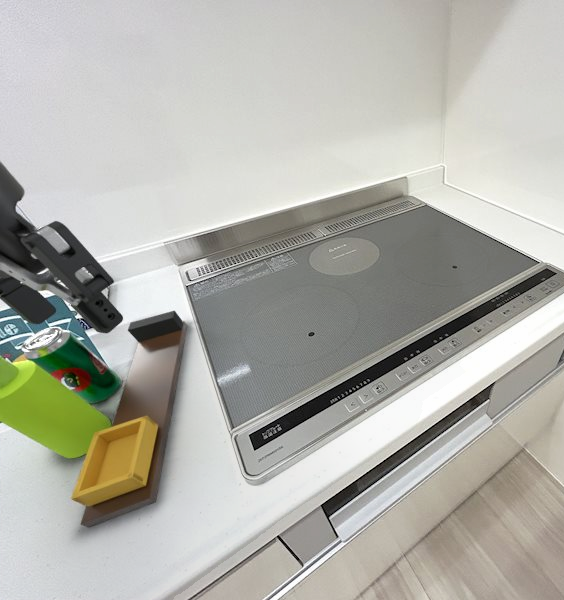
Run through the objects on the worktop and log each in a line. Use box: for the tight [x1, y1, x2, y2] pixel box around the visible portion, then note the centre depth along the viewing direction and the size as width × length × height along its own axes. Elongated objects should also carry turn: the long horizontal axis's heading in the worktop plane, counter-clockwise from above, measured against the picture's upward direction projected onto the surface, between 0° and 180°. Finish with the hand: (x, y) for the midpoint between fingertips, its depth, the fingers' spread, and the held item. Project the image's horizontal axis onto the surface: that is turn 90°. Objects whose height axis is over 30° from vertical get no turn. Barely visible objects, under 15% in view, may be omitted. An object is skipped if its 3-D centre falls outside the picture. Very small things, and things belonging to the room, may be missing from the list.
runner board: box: [80, 320, 188, 528], centre depth 48 cm, size 31×7×1 cm, turn 20°
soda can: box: [20, 326, 121, 404], centre depth 47 cm, size 5×5×12 cm
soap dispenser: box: [0, 355, 112, 459], centre depth 39 cm, size 6×7×20 cm
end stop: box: [127, 310, 184, 343], centre depth 57 cm, size 2×7×3 cm, turn 110°
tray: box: [70, 416, 158, 507], centre depth 40 cm, size 8×6×3 cm
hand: (78, 322), depth 32 cm, fingers open, 8 cm apart
